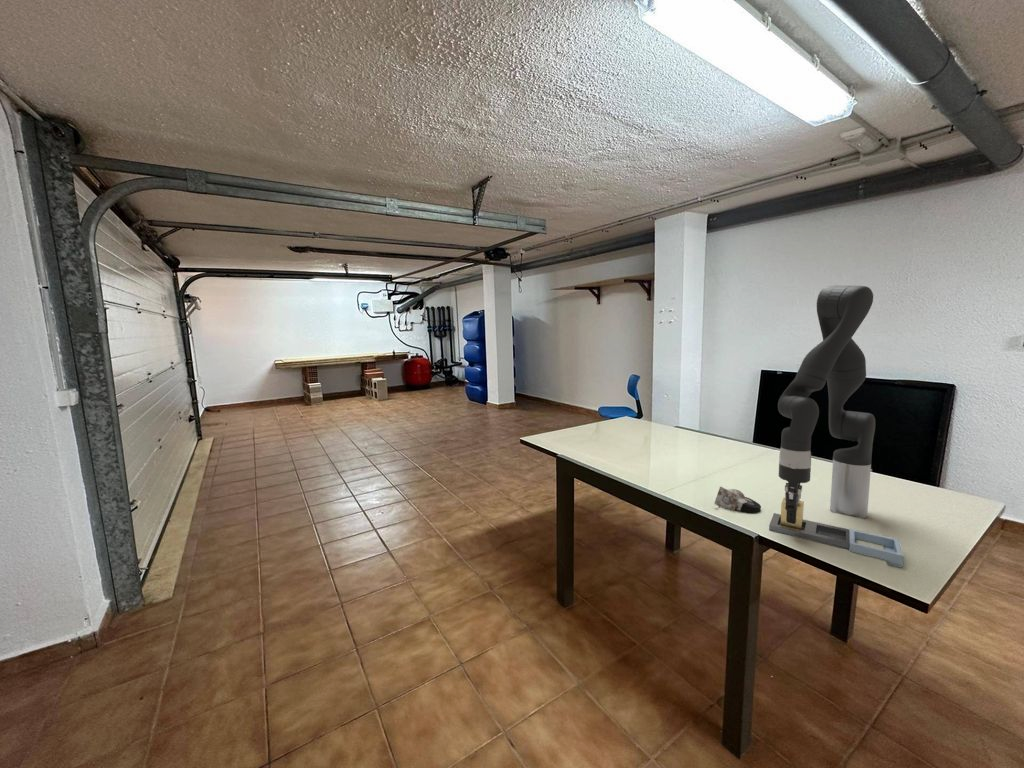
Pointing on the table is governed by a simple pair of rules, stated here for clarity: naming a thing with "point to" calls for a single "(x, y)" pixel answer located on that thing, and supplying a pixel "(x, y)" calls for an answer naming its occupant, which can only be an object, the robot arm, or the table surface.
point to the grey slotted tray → (814, 532)
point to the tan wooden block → (798, 515)
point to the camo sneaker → (736, 501)
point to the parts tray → (890, 552)
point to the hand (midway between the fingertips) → (791, 518)
